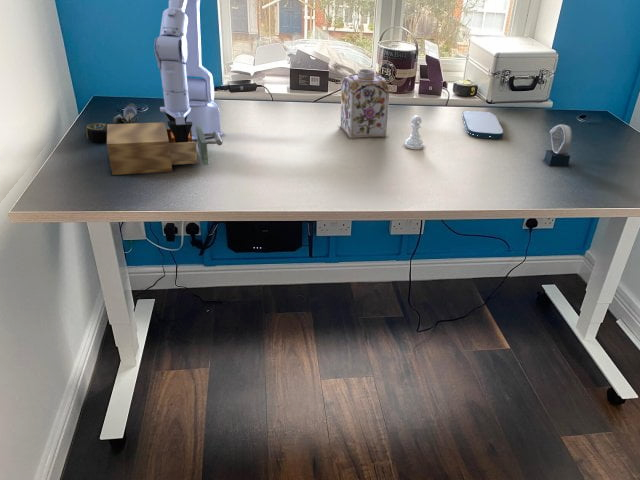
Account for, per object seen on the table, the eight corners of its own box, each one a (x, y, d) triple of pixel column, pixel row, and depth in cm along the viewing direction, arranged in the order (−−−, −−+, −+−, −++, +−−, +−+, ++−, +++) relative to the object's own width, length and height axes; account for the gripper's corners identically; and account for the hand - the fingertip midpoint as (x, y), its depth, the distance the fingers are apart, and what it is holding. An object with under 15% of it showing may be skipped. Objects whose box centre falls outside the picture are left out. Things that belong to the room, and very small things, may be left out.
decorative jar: (375, 125, 190) (379, 66, 181) (387, 137, 181) (392, 75, 171) (338, 126, 187) (341, 66, 177) (349, 138, 177) (351, 75, 168)
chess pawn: (406, 142, 178) (409, 112, 173) (423, 145, 178) (426, 114, 173) (403, 148, 174) (406, 117, 169) (420, 150, 173) (424, 119, 169)
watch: (559, 158, 177) (568, 121, 171) (570, 168, 170) (579, 130, 164) (541, 157, 176) (549, 120, 170) (551, 168, 169) (560, 129, 163)
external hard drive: (504, 140, 187) (505, 134, 186) (467, 137, 186) (468, 131, 185) (493, 118, 207) (494, 112, 206) (460, 115, 206) (461, 109, 205)
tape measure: (114, 143, 159) (111, 130, 157) (85, 144, 157) (83, 130, 155) (115, 135, 165) (113, 121, 163) (88, 136, 163) (85, 122, 161)
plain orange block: (190, 148, 155) (189, 131, 153) (192, 155, 151) (190, 137, 149) (172, 149, 154) (169, 132, 151) (173, 156, 150) (171, 138, 147)
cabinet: (168, 150, 158) (164, 122, 154) (172, 171, 147) (168, 141, 143) (112, 153, 154) (107, 124, 150) (112, 175, 142) (106, 144, 138)
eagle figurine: (147, 128, 168) (144, 113, 174) (130, 109, 163) (126, 94, 168) (125, 143, 168) (122, 127, 174) (107, 124, 163) (104, 108, 169)
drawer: (218, 145, 162) (216, 124, 158) (225, 163, 151) (223, 141, 148) (152, 149, 156) (149, 127, 153) (155, 168, 146) (152, 144, 142)
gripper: (156, 81, 148) (162, 135, 156) (159, 97, 137) (166, 155, 144) (185, 81, 151) (191, 134, 158) (191, 97, 139) (196, 153, 147)
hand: (181, 144), depth 151 cm, fingers open, 7 cm apart
